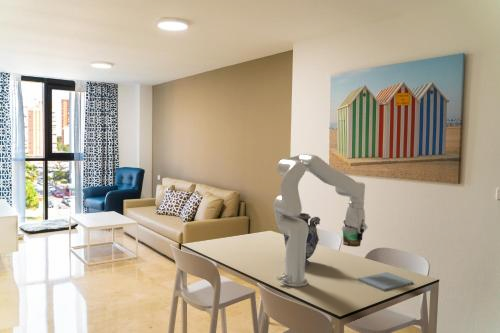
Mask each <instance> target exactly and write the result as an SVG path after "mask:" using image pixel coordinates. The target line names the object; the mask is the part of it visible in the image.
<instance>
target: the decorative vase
mask: <svg viewBox="0 0 500 333" xmlns="http://www.w3.org/2000/svg"><path fill="white" fill-rule="evenodd" d="M296 218H300V219H302V220H304V221H305V222H306V223H307V224H308V227H309V232H308V236H307V241H306V257H305V266H307V265H309V264H310V261H309V260H308V259H310V258H311V257H312V256H313V255H314V253H315V250H316V248H317V246H318V244H319V240H320V239H319V235H318V228H317V225H320V224H321V223H320V221H321V219H320V217H319V216H314V217H311V216H310V214H308V213H305V212H301V214H300V215H299V216H297V217H296ZM283 237H284V246H285V247H286V245H287V241H288V239H289V235H286V234H284V233H283Z"/></svg>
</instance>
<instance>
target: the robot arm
mask: <svg viewBox="0 0 500 333" xmlns="http://www.w3.org/2000/svg"><path fill="white" fill-rule="evenodd" d="M276 169H277V172H278V174H280V176H283V177H282V179H281V181H280V186H279V192H280V195H278V196H277V197H275V199H274V201H273V213H274V217H275V222H276V225H277V228H278V230H279V232H281V233H282V234H283V235H284V234H286V235H289V239H288V241H287V245H286V246H285V265H284V266H285V270H284V272H283V274H282V275H281V276H277V277H276V281H279V282H280V281H281V283H282V284H284V285H286V286H289V287H295V288H297V287H298V288H300V287H304V286H307V284H308V281H309V280H307V278H305V275H306V274H305V273H306V265H305V257H306V241H307V236H308V232H309V227H308V224H309V223H308V224H307V223H306V222H305V221H304V220H302V219H300V218H296V217H297V216H299V215H300V214H301V213H302V210H303V209H302V202H301V198H300V191H299V183H300V181H301V179H302V178H303V176H304V175H305V173H306V172H309V173H310V174H312V175H313V176H314V177H316V178H317V179H318V180H320V181H321V182H323V183H324V184H327V185H328V186H332V187H334V189H335V192H336V193H337V194H338V195H339V196H342V197H349V201H348V207H347V209H346V212H345V219H344V220H343V224H344V227H354V228H357V229H358V232H359V233H358V234H357V241H361V242H362V240H363V235H364V233H365V232H366V231H367V229H368V225H367V224H366V213H365V208H364V206H365V192H366V184H365V183H364V182H362V181H361V182H360V181H356V180H354V179H353V178H352V177H351V176H348V175H347V174H345V173H343V172H341V171H340V170H337V169H335V168H334V167H332V166H331V165H330V164H328V163H327V161H325V160H323V159H322V158H321V157H320V156H318V155H315V154H308V153H306V154H305V153H304V154H303V153H302V154H299V155H294V156H290V157H286V158H283V159H281V160H280V161H278V164H277V166H276ZM360 229H361V230H360Z"/></svg>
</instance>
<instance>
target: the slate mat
mask: <svg viewBox="0 0 500 333" xmlns="http://www.w3.org/2000/svg"><path fill="white" fill-rule="evenodd" d="M357 281H359V282H361V283H363V284H366V285H368V286H371V287H373V288H375V289H377V290H381V291H382V292H386V291H389V290H393V289H397V287H398V288H400V287H405V286H409V285H413V284H414V281H412V280H411V279H407V278H405V277H402V276H399V275H397V274H393V273H391V272H388V271H386V272H380V273H376V274H373V275H372V274H371V275H367V276H364V277H358V278H357ZM412 283H413V284H412ZM408 284H409V285H408ZM404 285H405V286H404Z"/></svg>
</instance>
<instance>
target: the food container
mask: <svg viewBox="0 0 500 333" xmlns="http://www.w3.org/2000/svg"><path fill="white" fill-rule="evenodd" d="M341 227H342V228H341V231H342V242H343V243H342V245H343V246H346V247H355V248H356V247H357V248H358V247H361V244H362V243H361V242H362V240H361V241H357V234H358V233H359V232H358V229H357V228H354V227H345V225H343V226H341ZM360 230H361V229H360Z"/></svg>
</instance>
